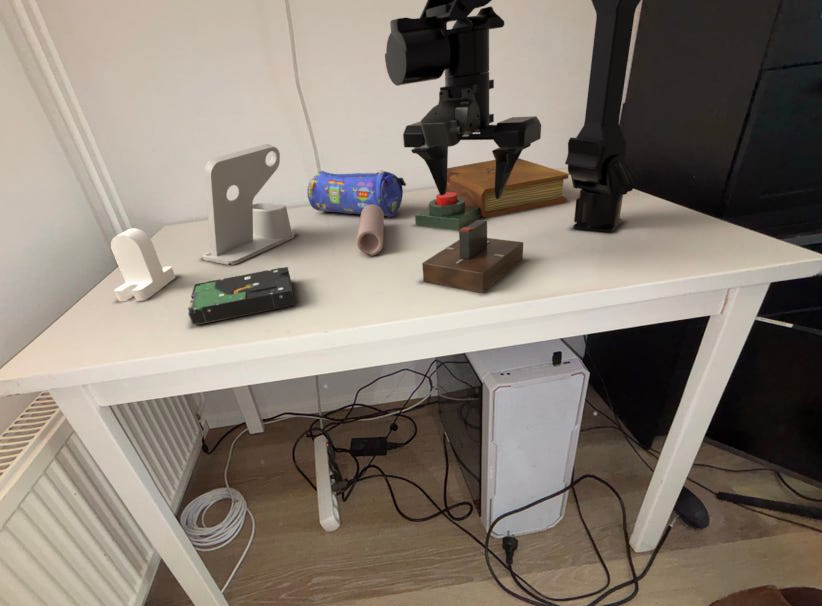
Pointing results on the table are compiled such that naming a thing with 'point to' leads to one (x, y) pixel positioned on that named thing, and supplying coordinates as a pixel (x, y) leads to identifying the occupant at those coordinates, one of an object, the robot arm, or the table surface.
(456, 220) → the button box
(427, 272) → the panel
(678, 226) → the table surface
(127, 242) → the white stand
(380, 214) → the beige hollow tube
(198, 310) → the disk drive
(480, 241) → the knob
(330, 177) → the pencil case
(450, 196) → the button
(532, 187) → the diary
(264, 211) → the grey bracket stand
